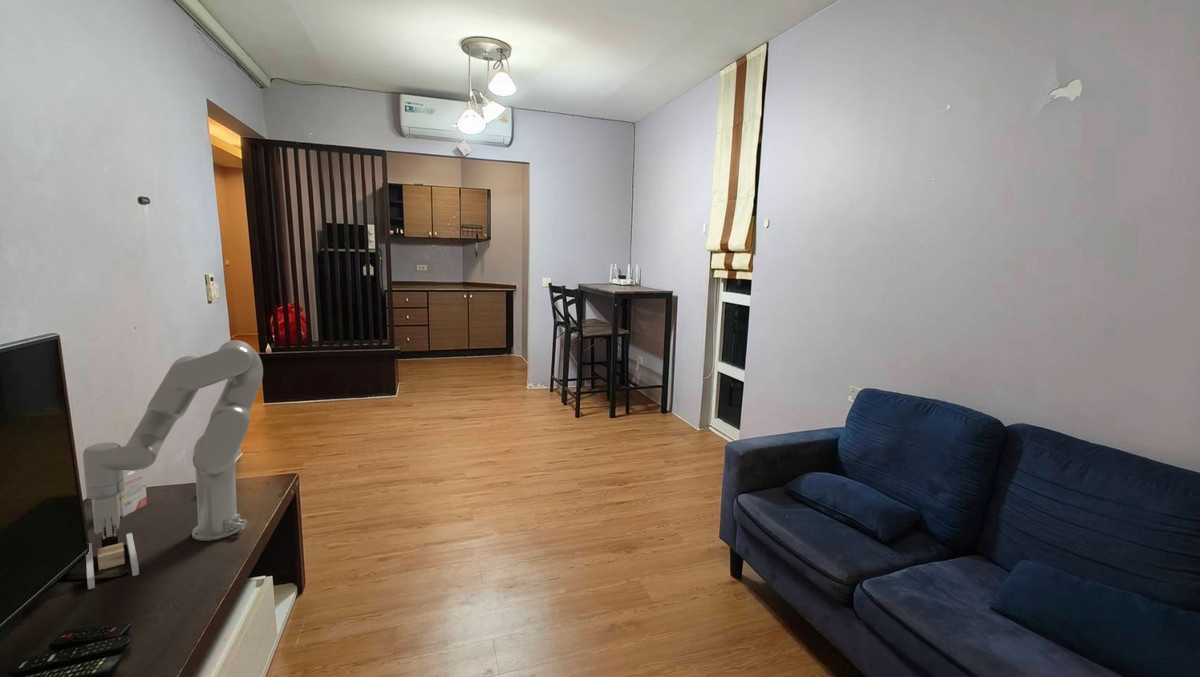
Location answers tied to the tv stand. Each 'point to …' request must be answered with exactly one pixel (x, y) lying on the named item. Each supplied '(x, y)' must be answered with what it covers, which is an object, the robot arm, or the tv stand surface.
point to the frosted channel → (131, 555)
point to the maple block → (111, 556)
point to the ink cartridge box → (133, 492)
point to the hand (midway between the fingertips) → (110, 549)
